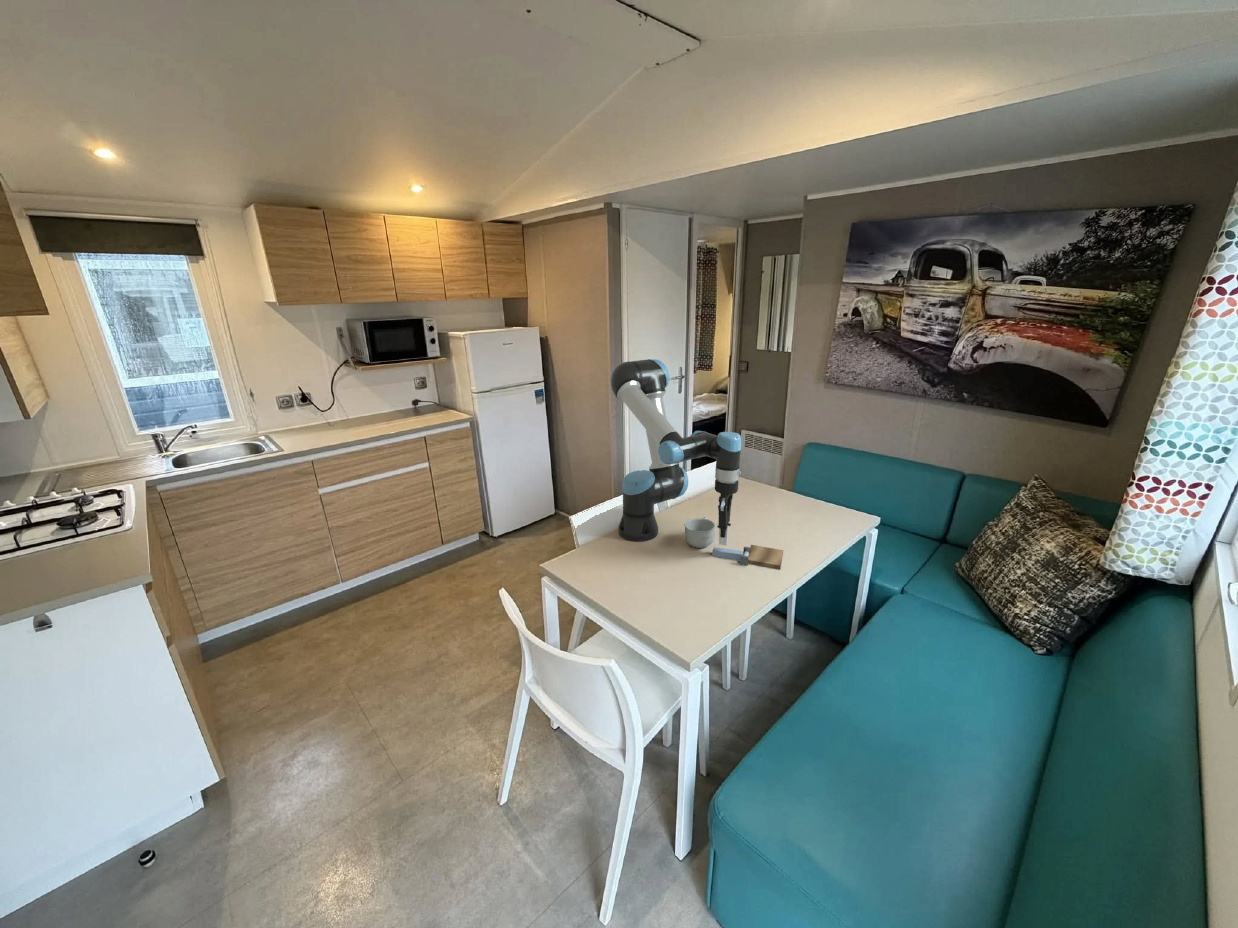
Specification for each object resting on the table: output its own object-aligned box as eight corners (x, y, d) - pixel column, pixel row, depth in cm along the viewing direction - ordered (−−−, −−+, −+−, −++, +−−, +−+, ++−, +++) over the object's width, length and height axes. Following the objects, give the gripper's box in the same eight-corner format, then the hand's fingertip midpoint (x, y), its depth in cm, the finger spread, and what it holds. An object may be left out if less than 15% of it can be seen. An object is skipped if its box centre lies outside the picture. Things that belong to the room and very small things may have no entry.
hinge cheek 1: (743, 555, 166) (743, 547, 165) (743, 554, 167) (744, 546, 166) (750, 556, 166) (750, 549, 165) (750, 555, 166) (751, 547, 165)
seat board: (746, 563, 162) (746, 559, 161) (750, 548, 171) (751, 544, 171) (780, 569, 158) (780, 565, 157) (783, 553, 167) (783, 550, 167)
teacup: (705, 554, 168) (706, 533, 165) (678, 545, 174) (678, 525, 171) (723, 538, 178) (724, 519, 176) (696, 531, 184) (697, 512, 182)
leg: (748, 557, 165) (749, 550, 165) (746, 563, 161) (747, 556, 161) (714, 552, 170) (714, 545, 169) (711, 558, 166) (711, 551, 165)
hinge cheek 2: (740, 564, 161) (740, 556, 160) (740, 563, 162) (741, 555, 161) (747, 565, 160) (748, 557, 159) (747, 564, 161) (748, 556, 160)
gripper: (735, 487, 150) (730, 554, 158) (741, 474, 162) (737, 537, 169) (711, 484, 153) (707, 550, 161) (719, 471, 164) (715, 534, 172)
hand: (722, 543), depth 165 cm, fingers closed
